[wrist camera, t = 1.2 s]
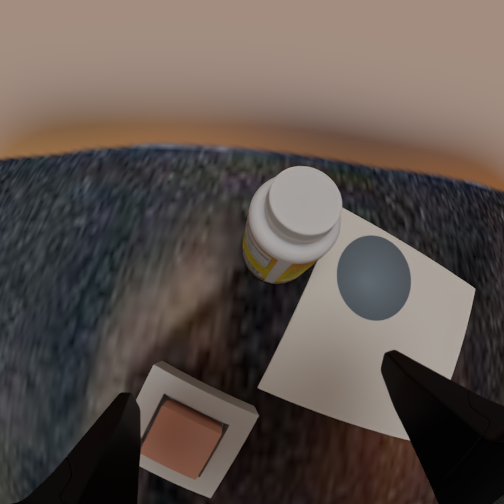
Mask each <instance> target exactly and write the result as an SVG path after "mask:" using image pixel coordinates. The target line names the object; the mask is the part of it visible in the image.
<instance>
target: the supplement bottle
mask: <svg viewBox="0 0 504 504" xmlns="http://www.w3.org/2000/svg"><path fill="white" fill-rule="evenodd" d="M341 212H342V199H341V195H340V192H339V190H338V188H337V186H336V185H335V183H334V182H333V181H332V180H331V179H330V178H329V177H328V176H327V175H326V174H324V173H323V172H321V171H319V170H317V169H314V168H311V167H306V166H296V167H291V168H288V169H286V170H284V171H282V172H281V173H280V174H278V175H277V176H276V177H275V178H272V179H270V180H269V181H267V182H266V183H264V184H263V185H262V186H261V187H260V188H259V189H258V190H257V192H256V193H255V195H254V196H253V198H252V201H251V204H250V207H249V212H248V217H247V222H246V228H245V233H244V238H243V244H242V253H243V258H244V261H245V263H246V265H247V267H248V269H249V270H250V271H251V272H252V273H253V274H254V275H255V276H256V277H258V278H259V279H261V280H263V281H265V282H269V283H275V284H280V283H286V282H289V281H292V280H294V279H296V278H297V277H298V276H300V275H301V274H302V273H303V272H305V271H306V270H307V269H308V268H309V267H311V266H312V265H313V264H314V263H315V262H317V261H318V260H319V259H320V258H321V257H323V256H324V255H325V254H326V253H327V252H328V251H329V250H330V249H331V248H332V247H333V246H334V244H335V242H336V240H337V238H338V236H339V232H340V228H341V216H340V215H341Z"/></svg>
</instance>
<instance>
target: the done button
mask: <svg viewBox="0 0 504 504" xmlns="http://www.w3.org/2000/svg"><path fill="white" fill-rule="evenodd" d="M221 435H222V423H220V422H217V421H215V420H213V419H211V418H209V417H207V416H204V415H202V414H200V413H198V412H196V411H194V410H192V409H190V408H188V407H186V406H184V405H182V404H180V403H178V402H176V401H174V400H173V399H171V398H168V400H167V401H166V402H165V403H164V404H163V405H162V407H161V409H160V411H159V413H158V415H157V417H156V419H155V421H154V423H153V425H152V427H151V429H150V431H149V433H148V435H147V437H146V439H145V441H144V443H143V445H142V447H141V454H142V455H144V456H146V457H148V458H150V459H152V460H153V461H155V462H157V463H159V464H161V465H163V466H165V467H167V468H170V469H172V470H174V471H176V472H178V473H180V474H182V475H185V476H187V477H189V478H192V479H194V480H196V478H197V477H198V475H199V473H200V472H201V470H202V468H203V467H204V465H205V463H206V461H207V460H208V458H209V456H210V454H211V453H212V451H213V449H214V447H215V446H216V444H217V442H218V440H219V438H220V437H221Z"/></svg>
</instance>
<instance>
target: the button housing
mask: <svg viewBox="0 0 504 504" xmlns="http://www.w3.org/2000/svg"><path fill="white" fill-rule="evenodd" d="M168 398H171V399H173V400H174V401H176V402H178V403H180V404H182V405H184V406H186V407H188V408H190V409H192V410H194V411H196V412H198V413H200V414H202V415H204V416H207V417H209V418H211V419H213V420H215V421H217V422H220V423H222V435H221V437H220V438H219V440H218V442H217V444H216V446H215V447H214V449H213V451H212V453H211V454H210V456H209V458H208V460H207V461H206V463H205V465H204V467H203V468H202V470H201V472H200V473H199V475H198V477H197V478H196V480H194V479H192V478H189V477H187V476H185V475H182V474H180V473H178V472H176V471H174V470H172V469H170V468H167V467H165V466H163V465H161V464H159V463H157V462H155V461H153V460H152V459H150V458H148V457H146V456H144V455H142V454H140V466H141V467H142V468H144V469H146V470H148V471H150V472H152V473H154V474H156V475H158V476H160V477H162V478H164V479H166V480H168V481H171V482H173V483H175V484H177V485H179V486H182V487H184V488H186V489H189V490H191V491H193V492H196V493H198V494H201V495H203V496H206V497H209V498H211V497H212V495H213V494H214V492H215V490H216V489H217V487H218V486H219V484H220V482H221V481H222V479H223V478H224V476H225V474H226V473H227V471H228V469H229V468H230V466H231V464H232V463H233V461H234V459H235V458H236V456H237V454H238V452H239V451H240V449H241V447H242V445H243V444H244V442H245V440H246V438H247V437H248V435H249V433H250V431H251V429H252V428H253V426H254V424H255V422H256V420H257V418H258V417H259V415H258V413H257V411H256V408H255V406H253V405H251V404H248V403H246V402H244V401H241V400H239V399H237V398H235V397H233V396H230V395H228V394H226V393H224V392H222V391H220V390H218V389H216V388H213V387H211V386H209V385H207V384H205V383H203V382H201V381H199V380H197V379H195V378H193V377H191V376H190V375H188V374H186V373H184V372H182V371H180V370H178V369H176V368H174V367H173V366H171V365H169V364H167V363H165V362H164V361H161V362H158V363H156V364H154V365H153V367H152V369H151V371H150V373H149V375H148V377H147V379H146V381H145V383H144V385H143V387H142V389H141V391H140V393H139V395H138V397H137V400H136V402H137V403H138V405H139V407H140V420H141V447H142V445H143V443H144V441H145V439H146V437H147V435H148V433H149V431H150V429H151V427H152V425H153V423H154V421H155V419H156V417H157V415H158V413H159V411H160V409H161V407H162V405H163V404H164V403H165V402H166V401H167V400H168Z"/></svg>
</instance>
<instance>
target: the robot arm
mask: <svg viewBox="0 0 504 504" xmlns="http://www.w3.org/2000/svg"><path fill="white" fill-rule="evenodd" d="M381 374H382V377H383V379H384V382H385V385H386V387H387V390H388V393H389V396H390V398H391V401H392V404H393V406H394V408H395V411H396V413H397V415H398V417H399V419H400V421H401V423H402V425H403V427H404V429H405V431H406V433H407V435H408V437H409V439H410V441H411V443H412V445H413V448H414V450H415V452H416V454H417V456H418V458H419V460H420V463H421V465H422V467H423V469H424V471H425V474H426V476H427V478H428V480H429V482H430V485H431V487H432V489H433V492H434V494H435V497H436V499H437V501H438V504H504V406H503V405H500V404H498V403H495V402H493V401H491V400H488V399H486V398H484V397H482V396H480V395H478V394H476V393H474V392H472V391H470V390H467V389H466V388H465V387H463V386H461V385H459V384H457V383H455V382H453V381H452V380H450V379H448V378H446V377H444V376H442V375H441V374H439V373H437V372H435V371H433V370H431V369H430V368H428V367H426V366H424V365H422V364H420V363H419V362H417V361H415V360H413V359H411V358H410V357H408V356H406V355H404V354H402V353H401V352H399V351H397V350H391V351H388V352H385V354H384V356H383V361H382V365H381ZM140 454H141V420H140V407H139V405H138V403H137V402H136V400H135V398H134V396H133V395H132V394H131V393H120V394H119V395H118V396H117V397H116V398H115V399H114V401H113V402H112V403H111V404H110V405H109V407H108V408H107V409H106V410H105V411H104V412H103V414H102V415H101V416H100V417H99V418H98V420H97V421H96V422H95V423H94V424H93V426H92V427H91V428H90V429H89V430H88V432H87V433H86V434H85V435H84V436H83V437H82V439H81V440H80V441H79V442H78V443H77V445H76V446H75V447H74V448H73V449H72V451H71V452H70V453H69V454H68V457H66V458H65V459H64V460H63V461H62V463H61V464H60V465H59V466H58V467H57V468H56V469H55V471H54V472H53V473H52V474H51V475H50V476H49V477H48V478H47V479H46V480H45V481H44V482H43V483H42V484H40V485H39V486H38V487H37V488H36V489H35V490H34V491H33V492H32V493H31V494H30V495H29V496H28V497H26V498H25V499H24V500H22V501H20V502H17V503H13V504H137V494H138V479H139V466H140Z"/></svg>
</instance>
